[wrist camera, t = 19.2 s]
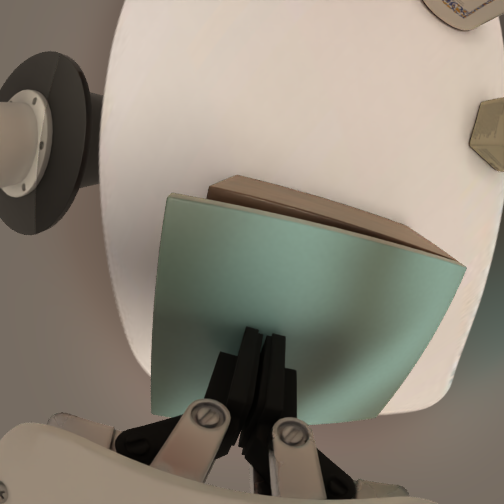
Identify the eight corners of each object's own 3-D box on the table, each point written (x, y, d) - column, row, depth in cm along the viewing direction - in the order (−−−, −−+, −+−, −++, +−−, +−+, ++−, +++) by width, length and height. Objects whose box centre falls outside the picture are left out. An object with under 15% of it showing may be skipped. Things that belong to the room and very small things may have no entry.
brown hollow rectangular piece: (207, 310, 24) (178, 371, 16) (236, 174, 20) (208, 185, 12) (354, 345, 23) (372, 409, 16) (406, 225, 19) (458, 261, 12)
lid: (152, 403, 13) (151, 414, 13) (170, 192, 9) (166, 196, 9) (371, 410, 16) (375, 418, 15) (458, 261, 12) (467, 267, 11)
